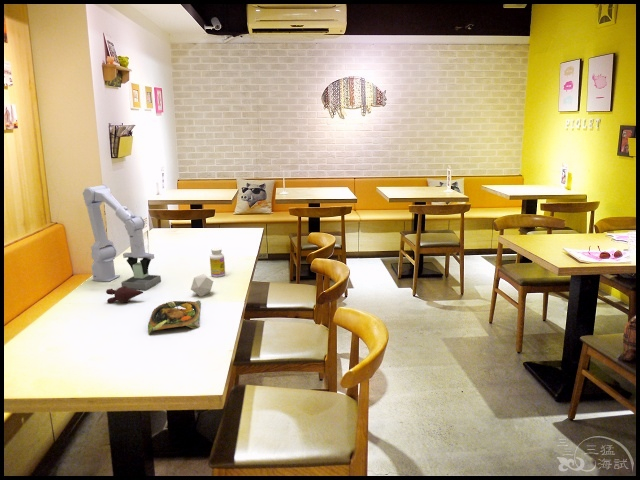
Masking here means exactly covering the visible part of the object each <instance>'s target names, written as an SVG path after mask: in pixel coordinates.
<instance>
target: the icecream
mask: <svg viewBox="0 0 640 480" xmlns="http://www.w3.org/2000/svg"><path fill="white" fill-rule="evenodd" d="M105 293H106V294H107V295H111V296H112V295H114V296H113V297H110V298H108V299H107V301H106V302H107V303H108V304H112V303H114V302H118V303H128V302H129V301H130V300H131V299H134V298H135V297H137V296H139V295H142V294H144V291H143V290H134V289H129V288H127V287H126V286H124V287H122V286H121V287H118V288H117V289H113V288H109V289H106V290H105Z"/></svg>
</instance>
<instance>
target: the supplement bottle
mask: <svg viewBox="0 0 640 480" xmlns="http://www.w3.org/2000/svg"><path fill="white" fill-rule="evenodd" d="M222 251H223V250H222V247H213V248H212V249H211V254H210V255H209V264H210V275H211V276H212V277H214V278H220V277H223V276H225V275H226V265H225V264H226V263H225V255H224V253H222Z"/></svg>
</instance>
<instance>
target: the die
mask: <svg viewBox="0 0 640 480" xmlns="http://www.w3.org/2000/svg"><path fill="white" fill-rule="evenodd" d="M213 285H214V280H212V279H211V278H210V277H208V276H207V275H205V274H204V273H203V274H200V275H197V276H195V277H193V279H192V284H191V287H190V291H192V292H193V293H195V294H197V295H198V296H199V297H204V296H205V295H208V294H210V293H211V291H212V288H213Z"/></svg>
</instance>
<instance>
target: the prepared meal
mask: <svg viewBox="0 0 640 480" xmlns="http://www.w3.org/2000/svg"><path fill="white" fill-rule="evenodd" d="M179 307H180V308H179ZM193 309H194V310H193ZM200 313H201V300H196V301H189V300H188V301H184V300H183V301H180V300H179V301H178V300H173V301H172V300H171V301H168V302H166V303H165V302H164V303H163V304H160V305H158V306H157V307H155V308H154V309H153V311H151V315H150V317H149V321H148V324H147V331H148V335H150V334H151V332H152V331H158V330H164V329H172V328H173V329H174V328H178V327H184V326H186V327H189V328H190V329H193V330H195V329H198V328H200V327H201V326H200V321H199V318H200Z"/></svg>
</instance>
